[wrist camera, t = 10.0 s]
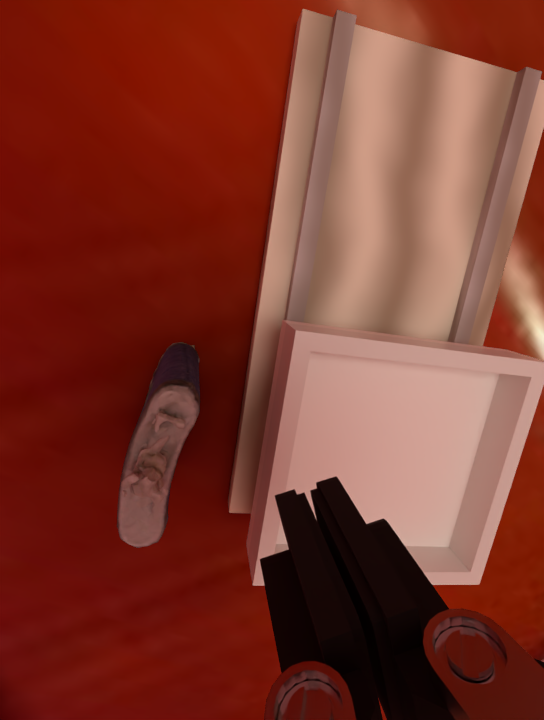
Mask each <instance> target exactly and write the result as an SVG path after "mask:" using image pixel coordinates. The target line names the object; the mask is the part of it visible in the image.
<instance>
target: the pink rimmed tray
mask: <svg viewBox="0 0 544 720" xmlns="http://www.w3.org/2000/svg"><path fill="white" fill-rule="evenodd" d="M543 385H544V361H542V360H539V359H535V358H532V357H529V356H526V355H522V354H519V353H516V352H512V351H509V350H506V349H498V348H491V347H483V346H476V345H468V344H461V343H453V342H446V341H438V340H430V339H423V338H415V337H408V336H400V335H393V334H385V333H378V332H370V331H363V330H355V329H348V328H340V327H333V326H325V325H318V324H310V323H303V322H295V321H288V320H282V325H281V331H280V338H279V344H278V350H277V356H276V362H275V369H274V375H273V381H272V387H271V394H270V400H269V406H268V412H267V418H266V425H265V431H264V437H263V443H262V449H261V456H260V462H259V468H258V474H257V481H256V487H255V493H254V499H253V505H252V512H251V518H250V524H249V530H248V537H247V543H246V545H247V552H248V558H249V565H250V572H251V578H252V585H253V586H265V585H264V580H263V574H262V569H261V564H260V559H261V558H264V557H267V556H270V555H273V554H276V553H279V552H282V551H285V550H288V549H289V548H288V544H287V541H286V537H285V533H284V530H283V526H282V522H281V518H280V515H279V511H278V507H277V503H276V500H275V495H277V494H281V493H284V492H287V491H290V490H293V489H295V491H296V493H297V494H300V493H305V495H306V497H307V500H308V502H309V504H310V506H311V509H312V511H313V513H314V516H315V518H316V515H315V510H314V506H313V502H312V498H311V493H310V490H313V489H316V488H317V486H316V482H319V481H322V480H326V479H329V478H332V477H335V476H336V477H338V479H339V480H340V482H341V484H342V485H343V487H344V489H345V490H346V492H347V493H348V495H349V497H350V498H351V500H352V501H353V503H354V505H355V506H356V508H357V510H358V511H359V513H360V514H361V516H362V518H363V519H364V521H365V523H366V524H368V523H371V522H374V521H377V520H380V519H385V520H386V521H387V522H388V523H389V524H390V526H391V527H392V528H393V530H394V531H395V533H396V534H397V536H398V537H399V538H400V540H401V541H402V543H403V544H404V546H405V547H406V548H407V550H408V551H409V553H410V554H411V556H412V557H413V558H414V560H415V561H416V563H417V564H418V566H419V567H420V568H421V570H422V571H423V573H424V574H425V575H426V577H427V578H428V580H429V581H430V583H431V584H432V585H477V584H480V581H481V578H482V574H483V571H484V568H485V565H486V562H487V559H488V556H489V553H490V550H491V546H492V543H493V540H494V537H495V534H496V531H497V528H498V525H499V522H500V519H501V515H502V512H503V509H504V506H505V503H506V500H507V497H508V494H509V491H510V487H511V484H512V481H513V478H514V475H515V472H516V469H517V466H518V463H519V459H520V456H521V453H522V450H523V447H524V444H525V441H526V438H527V435H528V431H529V428H530V425H531V422H532V419H533V416H534V413H535V410H536V407H537V404H538V400H539V397H540V394H541V391H542V388H543ZM316 520H317V519H316Z"/></svg>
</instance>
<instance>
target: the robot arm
mask: <svg viewBox="0 0 544 720" xmlns="http://www.w3.org/2000/svg"><path fill="white" fill-rule="evenodd" d="M316 486H317V488H316V489H313V490H310V493H311V498H312V502H313V506H314V510H315V515H316V518H315V516H314V513H313V511H312V509H311V506H310V504H309V502H308V500H307V497H306V495H305V493H300V494H297V493H296V491H295V489H293V490H290V491H287V492H284V493H281V494H277V495H275V500H276V503H277V507H278V511H279V515H280V518H281V522H282V526H283V530H284V533H285V537H286V541H287V544H288V548H289V549H288V550H285V551H282V552H279V553H276V554H273V555H270V556H267V557H264V558H261V559H260V564H261V569H262V574H263V580H264V585H265V590H266V595H267V600H268V605H269V611H270V616H271V621H272V626H273V631H274V636H275V641H276V647H277V652H278V657H279V662H280V667H281V672H282V673H281V674H280V676H279V677H278V678H277V680H276V681H275V682H274V684H273V685H272V687H271V689H270V692H269V694H268V697H267V699H266V705H265V713H264V720H383V719H382V714H381V710H380V705H379V701H380V703H381V706H382V708H383V711H384V713H385V716H386V718H387V720H544V662H542V661H539V660H536V659H534V658H532V657H531V656H530V655H529V654H528V653H527V652H526V651H525V650H524V649H523V648H522V647H521V646H520V645H519V644H518V643H517V642H516V641H515V640H514V639H513V638H512V637H511V636H510V635H509V634H508V633H507V632H506V631H505V630H504V629H503V628H502V627H501V626H499V625H498V624H497V623H495V622H494V621H493V620H492V619H490V618H489V617H487V616H484V615H482V614H480V613H478V612H476V611H471V610H467V609H449V608H448V607H447V605H446V604H445V603H444V601H443V600H442V598H441V597H440V595H439V594H438V593H437V591H436V590H435V588H434V587H433V585H432V584H431V583H430V581H429V580H428V578H427V577H426V575H425V574H424V573H423V571H422V570H421V568H420V567H419V566H418V564H417V563H416V561H415V560H414V558H413V557H412V556H411V554H410V553H409V551H408V550H407V548H406V547H405V546H404V544H403V543H402V541H401V540H400V538H399V537H398V536H397V534H396V533H395V531H394V530H393V528H392V527H391V526H390V524H389V523H388V522H387V521H386V520H385V519H380V520H377V521H374V522H371V523H368V524H366V523H365V521H364V519H363V518H362V516H361V514H360V513H359V511H358V510H357V508H356V506H355V505H354V503H353V501H352V500H351V498H350V497H349V495H348V493H347V492H346V490H345V489H344V487H343V485H342V484H341V482H340V480H339V479H338V477H336V476H335V477H332V478H329V479H326V480H322V481H319V482H316ZM316 519H317V520H316ZM378 698H379V700H378Z"/></svg>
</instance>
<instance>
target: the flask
mask: <svg viewBox="0 0 544 720" xmlns="http://www.w3.org/2000/svg"><path fill="white" fill-rule="evenodd" d="M199 390H200V386H199V356H198V354H197V351H196V350H195V346H194V345H192V346H191V345H188V344H186V343H183V342H180V343H173V344H172V345H171V346H169V347H168V348H167V349H166V352H165V353H164V354H163V355H162V357H161V358H160V362H159V363H158V366H157V368H156V370H155V372H154V374H153V379H152V380H151V384H150V386H149V391H148V394H147V397H146V401H145V404H144V407H143V409H142V412H141V415H140V417H139V420H138V422H137V425H136V427H135V429H134V432H133V435H132V437H131V440H130V443H129V446H128V450H127V453H126V457H125V461H124V465H123V470H122V475H121V481H120V488H119V498H118V511H117V528H118V531H119V536H120V538H121V539H122V540H123V541H124V542H126V543H128V544H130V545H132V546H134V547H137V548H139V547H143V546H149V545H151V544H153V543H156V542H158V541H159V539H160V538H161V536H162V534H163V532H164V529H165V528H166V524H167V521H168V500H169V495H170V488H171V481H172V479H173V475H174V472H175V468H176V464H177V461H178V457H179V455H180V452H181V450H182V447H183V445H184V442H185V440H186V438H187V436H188V434H189V433H190V431H191V429H192V428H193V426H194V424H195V422H196V420H197V417H198V415H199V412H200V391H199Z"/></svg>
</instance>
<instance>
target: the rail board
mask: <svg viewBox="0 0 544 720" xmlns="http://www.w3.org/2000/svg"><path fill="white" fill-rule="evenodd" d="M356 17H357V16H356V15H353V14H350V13H346V12H343V11H340V10H337V12H336V13H335V15H334V17H333V18H332V17H329V16H326V15H322V14H319V13H315V12H312V11H309V10H305V9H303V10H302V12H301V15H300V17H299V20H298V22H297V27H296V34H295V41H294V48H293V55H292V62H291V69H290V75H289V82H288V89H287V96H286V103H285V110H284V117H283V124H282V131H281V138H280V145H279V152H278V158H277V165H276V172H275V179H274V186H273V193H272V200H271V207H270V214H269V221H268V228H267V234H266V241H265V248H264V255H263V262H262V269H261V276H260V283H259V290H258V297H257V304H256V310H255V317H254V324H253V331H252V338H251V345H250V352H249V359H248V366H247V373H246V380H245V387H244V393H243V400H242V407H241V414H240V421H239V428H238V435H237V442H236V449H235V456H234V463H233V469H232V476H231V483H230V490H229V497H228V507H229V513H251V512H252V505H253V499H254V493H255V487H256V481H257V474H258V468H259V462H260V456H261V449H262V443H263V437H264V431H265V425H266V418H267V412H268V406H269V400H270V394H271V387H272V381H273V375H274V369H275V362H276V356H277V350H278V344H279V338H280V331H281V325H282V320H288V321H295V322H303V323H310V324H318V325H325V326H333V327H340V328H348V329H355V330H363V331H370V332H378V333H385V334H393V335H400V336H408V337H415V338H423V339H430V340H438V341H446V342H453V343H461V344H468V345H476V346H483V343H484V339H485V336H486V332H487V328H488V325H489V321H490V318H491V314H492V310H493V307H494V303H495V300H496V296H497V293H498V289H499V285H500V282H501V278H502V275H503V271H504V267H505V264H506V260H507V257H508V253H509V250H510V246H511V242H512V239H513V235H514V232H515V228H516V224H517V221H518V217H519V214H520V210H521V207H522V203H523V199H524V196H525V192H526V189H527V185H528V182H529V178H530V174H531V171H532V167H533V164H534V160H535V156H536V153H537V149H538V146H539V142H540V139H541V135H542V131H543V128H544V80H541V79H540V77H541V73H542V71H538V70H535V69H532V68H528V67H526V68H524V69H522V70H520V71H519V72H514V71H510V70H507V69H504V68H500V67H497V66H494V65H490V64H487V63H484V62H480V61H477V60H473V59H470V58H467V57H463V56H460V55H457V54H453V53H450V52H447V51H443V50H440V49H436V48H433V47H430V46H426V45H423V44H420V43H416V42H413V41H410V40H406V39H403V38H400V37H396V36H393V35H389V34H386V33H383V32H379V31H376V30H373V29H369V28H366V27H363V26H359V25H356V24H355V22H356Z"/></svg>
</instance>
